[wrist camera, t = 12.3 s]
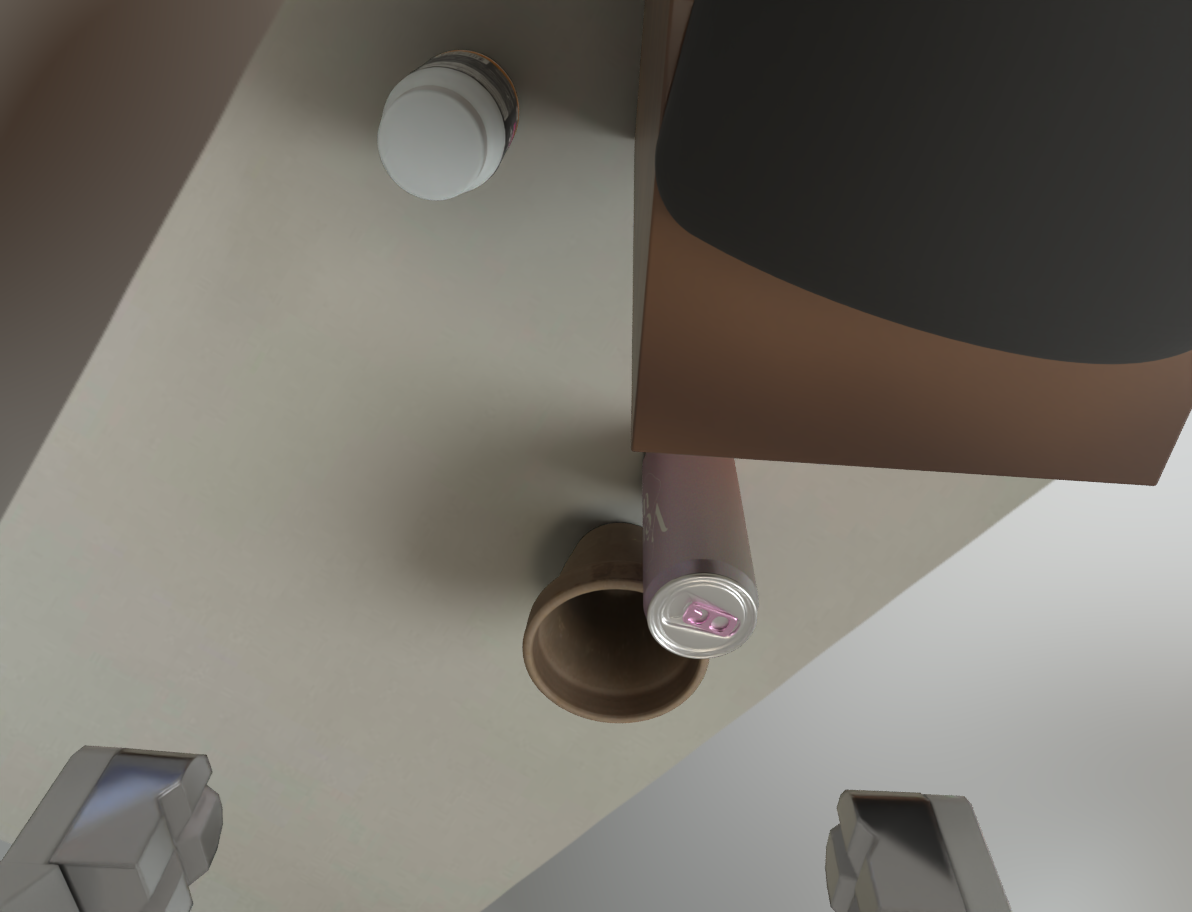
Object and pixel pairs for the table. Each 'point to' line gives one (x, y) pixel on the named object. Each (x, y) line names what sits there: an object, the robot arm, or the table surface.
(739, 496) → the beverage can
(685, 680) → the flower pot
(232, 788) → the table surface
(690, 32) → the computer mouse
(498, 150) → the pill bottle
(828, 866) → the robot arm
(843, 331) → the shelf
